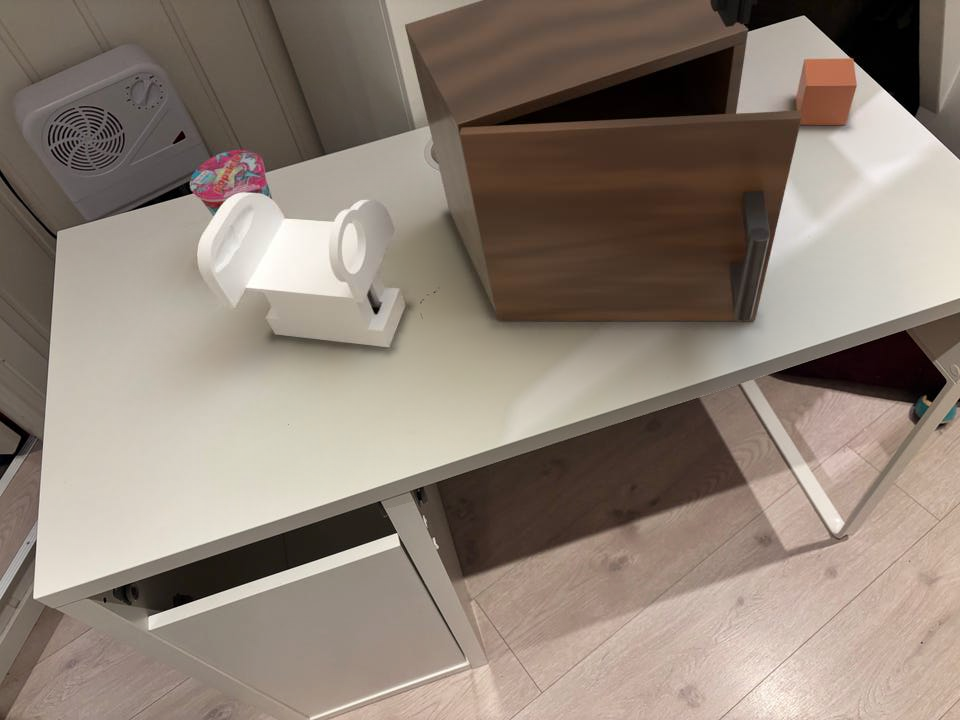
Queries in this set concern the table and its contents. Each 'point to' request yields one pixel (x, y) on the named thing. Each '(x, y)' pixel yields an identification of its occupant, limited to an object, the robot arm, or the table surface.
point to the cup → (229, 178)
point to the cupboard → (566, 73)
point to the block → (826, 91)
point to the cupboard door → (630, 215)
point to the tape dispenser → (305, 268)
